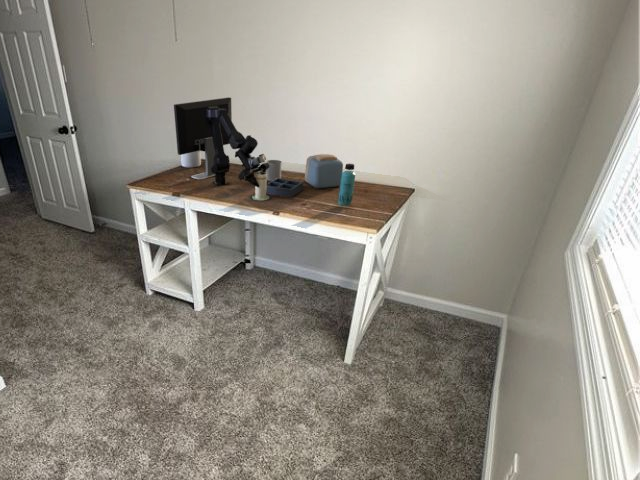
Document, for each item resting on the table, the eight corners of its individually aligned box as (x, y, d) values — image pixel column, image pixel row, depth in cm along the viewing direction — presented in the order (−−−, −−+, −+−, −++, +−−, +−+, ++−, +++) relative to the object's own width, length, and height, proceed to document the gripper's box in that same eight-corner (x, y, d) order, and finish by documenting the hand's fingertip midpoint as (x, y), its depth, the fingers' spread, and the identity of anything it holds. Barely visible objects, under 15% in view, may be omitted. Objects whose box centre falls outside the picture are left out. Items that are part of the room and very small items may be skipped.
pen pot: (253, 196, 213) (253, 172, 207) (264, 195, 215) (264, 171, 208) (257, 199, 209) (257, 175, 202) (267, 198, 210) (268, 174, 204)
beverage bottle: (335, 204, 203) (340, 162, 193) (349, 203, 204) (354, 162, 193) (339, 208, 198) (344, 166, 187) (353, 208, 198) (359, 165, 188)
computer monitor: (227, 166, 264) (226, 97, 243) (237, 169, 259) (236, 98, 238) (177, 180, 239) (170, 104, 218) (186, 183, 234) (181, 105, 213)
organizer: (263, 193, 218) (263, 185, 216) (276, 185, 229) (276, 177, 227) (290, 198, 211) (290, 189, 209) (302, 190, 223) (303, 181, 220)
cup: (279, 182, 235) (280, 163, 230) (265, 181, 237) (265, 163, 231) (281, 177, 242) (282, 160, 237) (267, 177, 244) (267, 159, 238)
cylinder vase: (202, 163, 272) (200, 122, 259) (199, 168, 261) (196, 125, 248) (183, 162, 273) (180, 121, 260) (179, 167, 262) (176, 125, 249)
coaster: (248, 196, 214) (248, 196, 213) (263, 194, 217) (263, 193, 217) (257, 202, 207) (257, 201, 207) (272, 199, 210) (272, 198, 210)
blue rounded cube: (328, 178, 240) (331, 150, 232) (343, 186, 227) (346, 156, 218) (302, 181, 236) (305, 152, 227) (315, 189, 223) (318, 159, 214)
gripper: (242, 152, 196) (260, 180, 195) (267, 145, 207) (284, 172, 207) (230, 166, 205) (247, 193, 204) (255, 159, 216) (271, 184, 216)
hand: (263, 185), depth 208 cm, fingers open, 6 cm apart
